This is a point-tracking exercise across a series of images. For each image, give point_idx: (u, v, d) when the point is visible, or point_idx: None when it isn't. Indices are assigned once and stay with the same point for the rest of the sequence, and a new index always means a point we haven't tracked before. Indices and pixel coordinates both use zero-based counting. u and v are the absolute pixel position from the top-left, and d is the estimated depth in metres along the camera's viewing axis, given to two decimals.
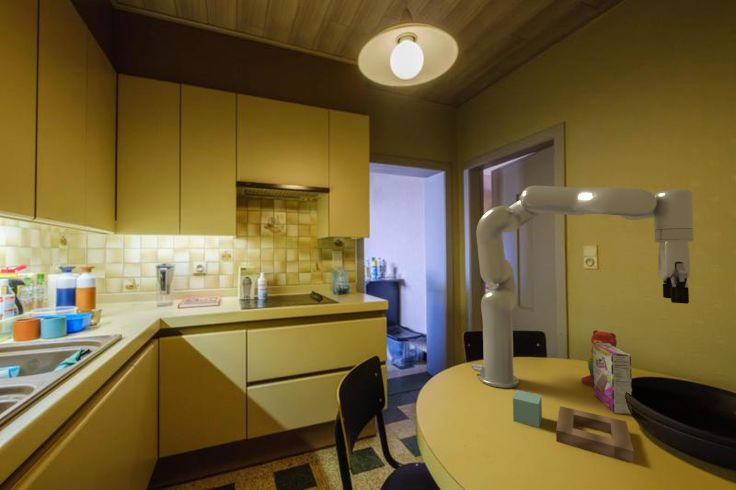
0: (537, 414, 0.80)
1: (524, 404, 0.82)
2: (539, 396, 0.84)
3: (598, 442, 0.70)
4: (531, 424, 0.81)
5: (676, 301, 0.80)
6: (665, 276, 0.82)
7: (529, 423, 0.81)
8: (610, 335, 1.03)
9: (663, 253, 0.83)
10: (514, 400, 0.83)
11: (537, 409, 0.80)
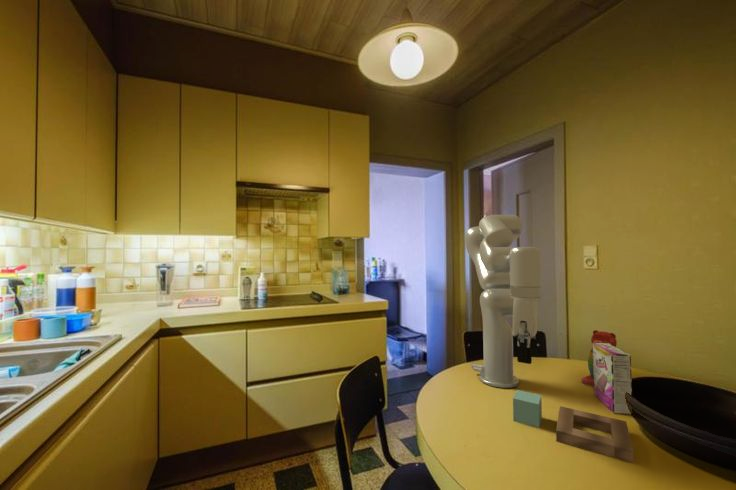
0: (537, 414, 0.80)
1: (524, 404, 0.82)
2: (539, 396, 0.84)
3: (598, 442, 0.70)
4: (531, 424, 0.81)
5: (521, 361, 0.80)
6: (513, 334, 0.82)
7: (529, 423, 0.81)
8: (610, 335, 1.03)
9: (513, 310, 0.83)
10: (514, 400, 0.83)
11: (537, 409, 0.80)
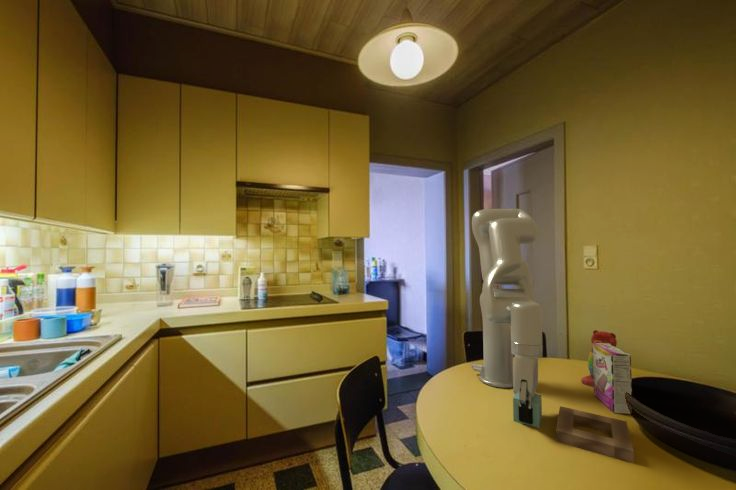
0: (537, 414, 0.80)
1: None
2: (539, 396, 0.84)
3: (598, 442, 0.70)
4: (531, 424, 0.81)
5: (522, 420, 0.81)
6: None
7: None
8: (610, 335, 1.03)
9: None
10: (514, 400, 0.83)
11: (537, 409, 0.80)
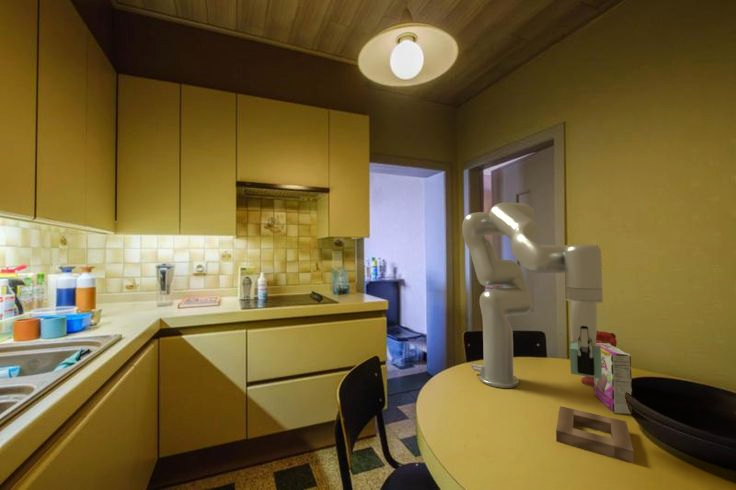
0: (599, 364, 0.73)
1: None
2: (598, 347, 0.77)
3: (598, 442, 0.70)
4: (592, 375, 0.73)
5: (582, 372, 0.74)
6: (572, 341, 0.75)
7: None
8: (610, 335, 1.03)
9: (570, 315, 0.76)
10: (571, 350, 0.76)
11: (599, 358, 0.73)
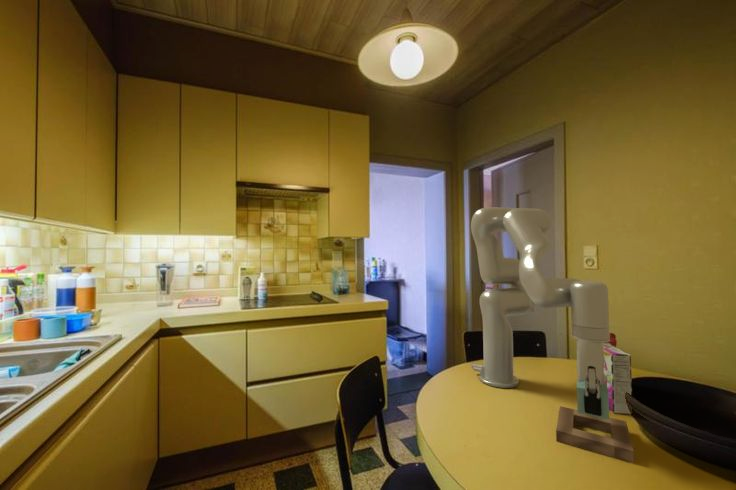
0: (607, 404, 0.72)
1: None
2: (605, 385, 0.76)
3: (598, 442, 0.70)
4: None
5: (589, 412, 0.73)
6: (578, 380, 0.74)
7: None
8: (610, 335, 1.03)
9: (577, 353, 0.75)
10: (578, 389, 0.75)
11: (606, 398, 0.72)
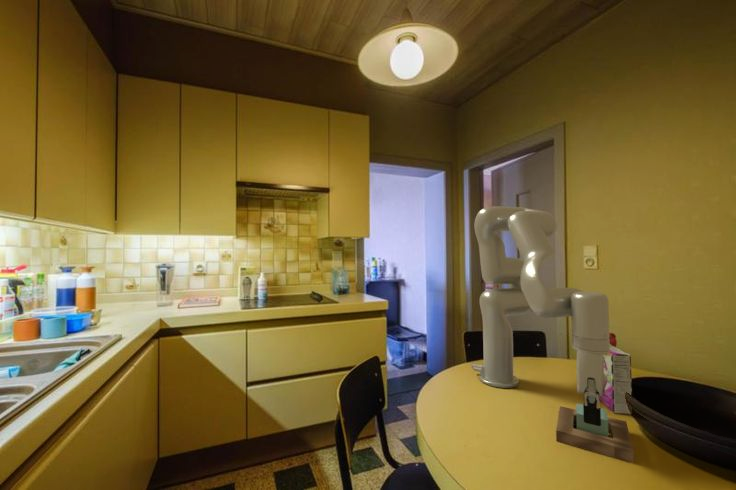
0: (606, 431, 0.72)
1: None
2: (604, 411, 0.76)
3: (598, 442, 0.70)
4: None
5: (588, 421, 0.72)
6: (578, 391, 0.74)
7: None
8: (610, 335, 1.03)
9: (577, 364, 0.75)
10: (578, 415, 0.75)
11: (606, 426, 0.72)
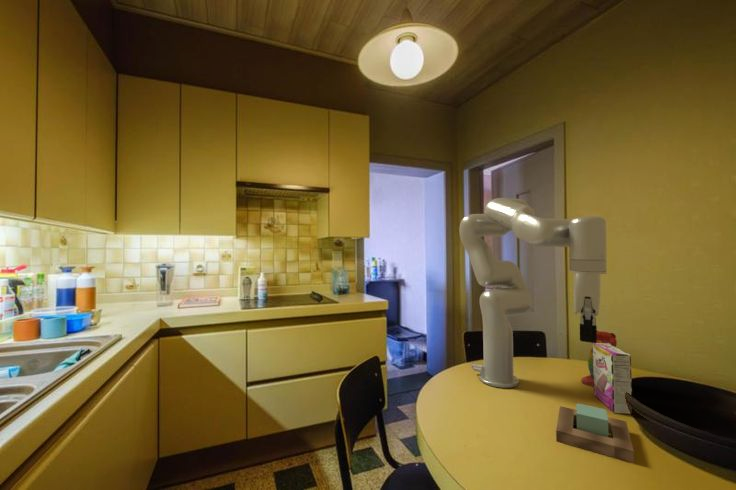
0: (606, 431, 0.72)
1: (591, 420, 0.74)
2: (604, 411, 0.76)
3: (598, 442, 0.70)
4: None
5: (584, 340, 0.74)
6: (575, 311, 0.75)
7: None
8: (610, 335, 1.03)
9: (574, 286, 0.76)
10: (578, 415, 0.75)
11: (606, 426, 0.72)
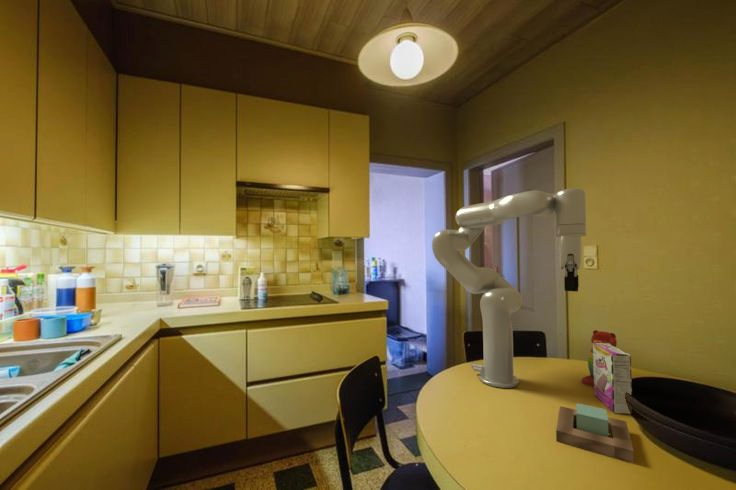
0: (606, 431, 0.72)
1: (591, 420, 0.74)
2: (604, 411, 0.76)
3: (598, 442, 0.70)
4: None
5: (568, 289, 0.89)
6: (560, 267, 0.91)
7: None
8: (610, 335, 1.03)
9: None
10: (578, 415, 0.75)
11: (606, 426, 0.72)
